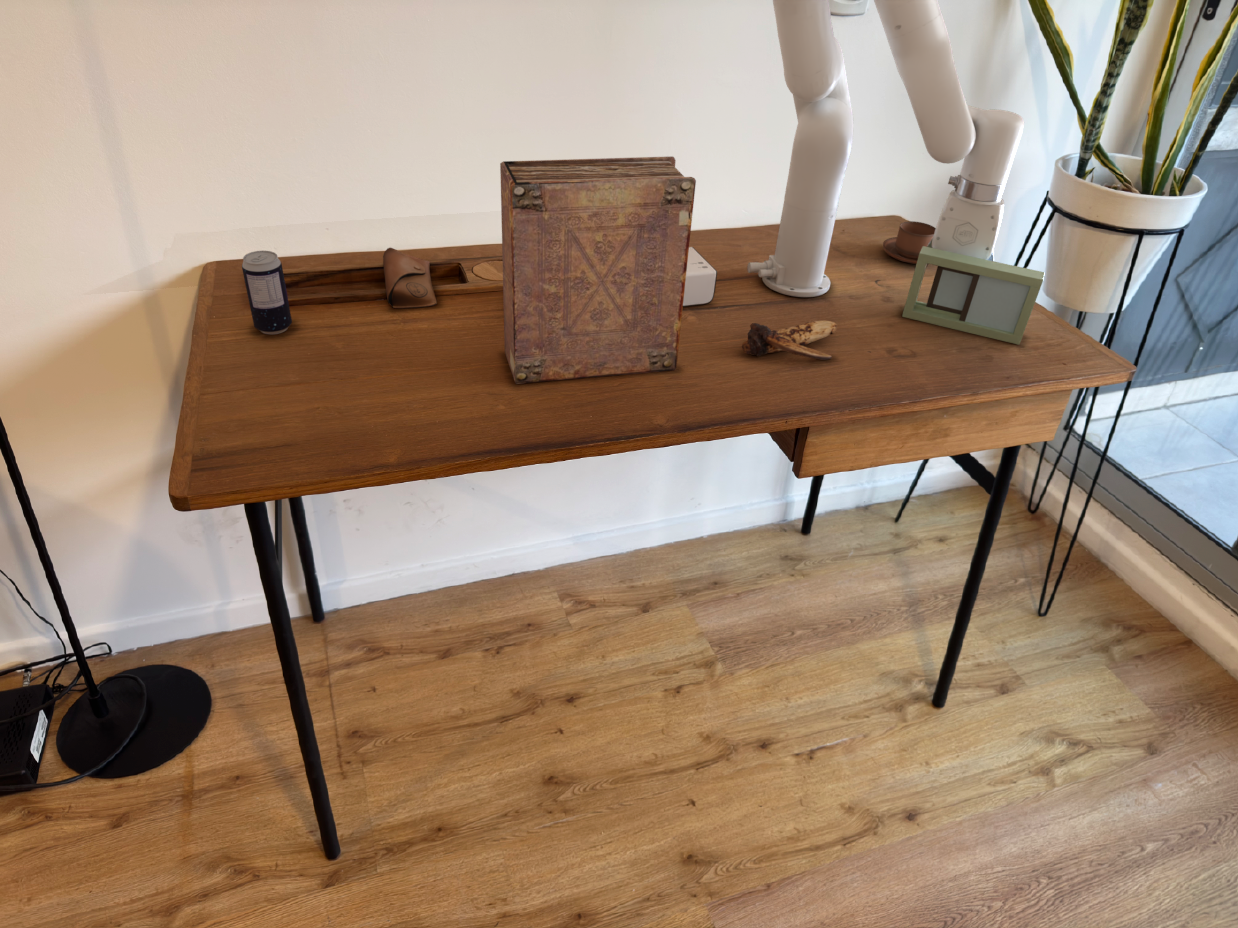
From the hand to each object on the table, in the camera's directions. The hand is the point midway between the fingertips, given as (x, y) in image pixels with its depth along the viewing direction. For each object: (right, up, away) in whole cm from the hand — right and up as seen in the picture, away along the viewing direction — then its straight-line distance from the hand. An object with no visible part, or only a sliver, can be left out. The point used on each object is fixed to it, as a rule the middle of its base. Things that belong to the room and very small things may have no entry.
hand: (949, 288), depth 160 cm
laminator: (-61, -3, -4) cm, 61 cm away
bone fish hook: (-31, -13, -15) cm, 37 cm away
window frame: (0, -7, -4) cm, 9 cm away
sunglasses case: (-97, 0, -4) cm, 97 cm away
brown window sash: (0, -3, -2) cm, 4 cm away
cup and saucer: (0, +10, +20) cm, 22 cm away
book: (-64, -16, -22) cm, 70 cm away
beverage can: (-115, -10, -20) cm, 117 cm away
